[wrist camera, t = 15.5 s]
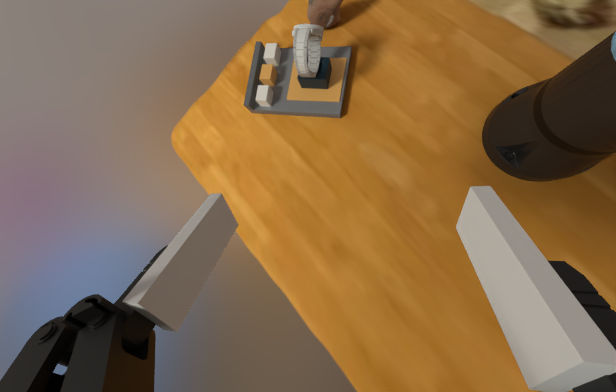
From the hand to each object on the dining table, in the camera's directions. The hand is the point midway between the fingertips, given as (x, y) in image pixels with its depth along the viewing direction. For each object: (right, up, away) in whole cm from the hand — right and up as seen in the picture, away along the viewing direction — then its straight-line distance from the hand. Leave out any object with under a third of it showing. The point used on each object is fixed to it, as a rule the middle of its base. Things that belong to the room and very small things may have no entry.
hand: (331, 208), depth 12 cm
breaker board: (-3, +25, +34) cm, 42 cm away
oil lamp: (+4, +37, +34) cm, 50 cm away
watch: (0, +25, +32) cm, 40 cm away
